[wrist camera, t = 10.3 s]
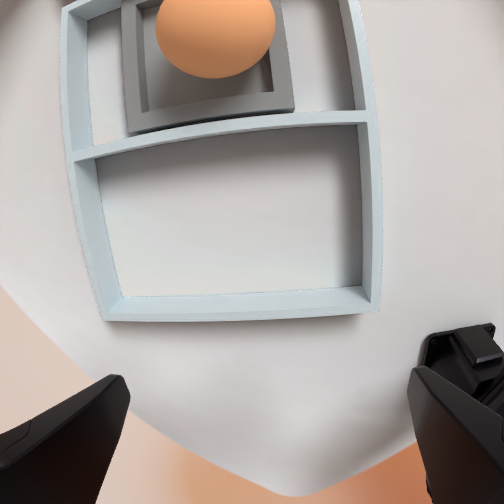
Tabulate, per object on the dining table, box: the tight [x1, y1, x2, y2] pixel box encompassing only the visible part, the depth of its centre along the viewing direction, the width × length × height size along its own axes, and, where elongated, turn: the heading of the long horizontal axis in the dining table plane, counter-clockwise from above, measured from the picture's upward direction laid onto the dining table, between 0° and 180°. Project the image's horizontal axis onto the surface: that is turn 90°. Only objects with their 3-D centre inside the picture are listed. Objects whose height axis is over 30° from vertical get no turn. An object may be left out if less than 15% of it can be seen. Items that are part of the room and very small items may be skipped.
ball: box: [155, 0, 276, 79], centre depth 13 cm, size 6×6×6 cm
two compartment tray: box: [60, 0, 383, 322], centre depth 17 cm, size 22×18×2 cm
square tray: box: [121, 0, 295, 133], centre depth 16 cm, size 10×10×2 cm
